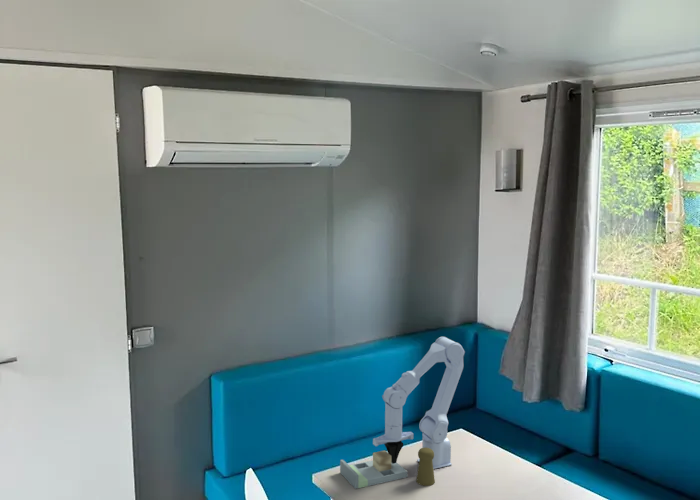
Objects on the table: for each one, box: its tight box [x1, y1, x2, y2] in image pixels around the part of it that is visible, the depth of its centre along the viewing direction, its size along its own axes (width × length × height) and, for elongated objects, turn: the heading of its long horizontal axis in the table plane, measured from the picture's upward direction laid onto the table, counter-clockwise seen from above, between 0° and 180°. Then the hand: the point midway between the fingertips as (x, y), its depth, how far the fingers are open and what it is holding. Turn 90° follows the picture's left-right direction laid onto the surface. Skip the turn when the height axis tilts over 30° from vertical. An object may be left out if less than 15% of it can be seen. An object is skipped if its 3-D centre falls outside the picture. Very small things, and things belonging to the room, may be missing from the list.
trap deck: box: [339, 459, 408, 490], centre depth 206 cm, size 19×12×4 cm, turn 115°
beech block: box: [372, 450, 392, 472], centre depth 207 cm, size 5×5×5 cm
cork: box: [415, 447, 436, 487], centre depth 201 cm, size 6×6×11 cm
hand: (393, 462), depth 209 cm, fingers closed
